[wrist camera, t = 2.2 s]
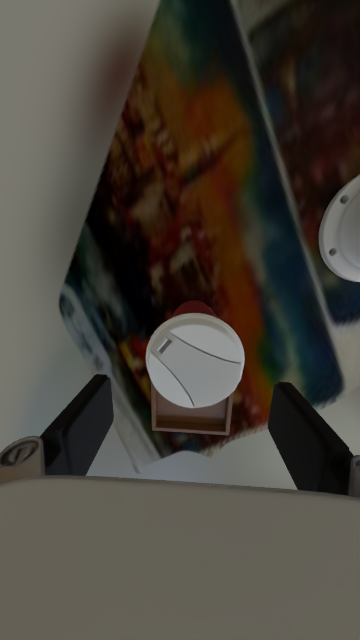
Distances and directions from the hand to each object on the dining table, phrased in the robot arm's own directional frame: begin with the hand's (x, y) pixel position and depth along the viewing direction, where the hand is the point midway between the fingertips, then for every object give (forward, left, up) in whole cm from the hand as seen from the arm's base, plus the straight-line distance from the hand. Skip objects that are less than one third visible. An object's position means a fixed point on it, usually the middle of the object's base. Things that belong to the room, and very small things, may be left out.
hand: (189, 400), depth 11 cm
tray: (+12, 0, -17) cm, 21 cm away
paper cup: (0, 0, -17) cm, 17 cm away
